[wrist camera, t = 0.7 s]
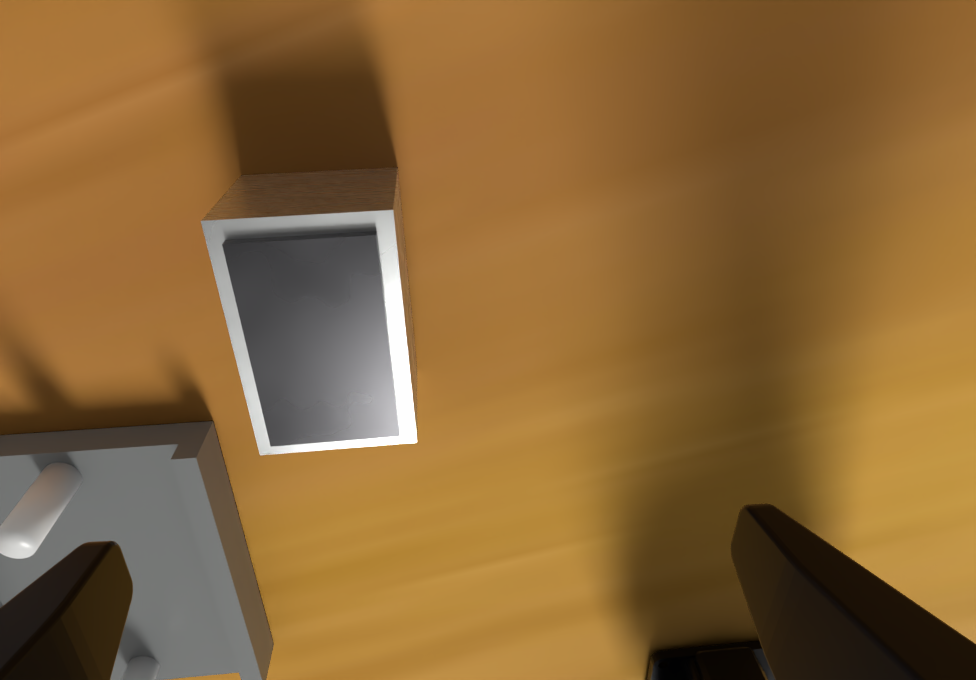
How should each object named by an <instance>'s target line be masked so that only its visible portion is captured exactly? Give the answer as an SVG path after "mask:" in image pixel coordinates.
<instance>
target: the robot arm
mask: <svg viewBox="0 0 976 680" xmlns="http://www.w3.org/2000/svg"><path fill="white" fill-rule="evenodd" d="M731 556H732V560H733V563H734V566H735V569H736V572H737V575H738V578H739V581H740V584H741V587H742V590H743V593H744V596H745V599H746V602H747V605H748V608H749V611H750V614H751V617H752V620H753V623H754V626H755V629H756V632H757V635H758V638H759V641H756V642H745V643H735V644H725V645H715V646H704V647H694V648H684V649H673V650H663V651H658V652H656V653H654V654H653V655H652V656H651V659H650V665H649V671H648V677H647V680H976V644H975V643H973V642H972V641H970V640H969V639H968V638H966V637H965V636H963V635H962V634H960V633H959V632H957V631H956V630H954V629H953V628H952V627H950V626H949V625H947V624H946V623H944V622H943V621H941V620H940V619H938V618H937V617H935V616H934V615H933V614H931V613H930V612H928V611H927V610H925V609H924V608H922V607H921V606H919V605H918V604H916V603H915V602H914V601H912V600H911V599H909V598H908V597H906V596H905V595H903V594H902V593H900V592H899V591H898V590H896V589H895V588H893V587H892V586H890V585H889V584H887V583H886V582H884V581H883V580H881V579H880V578H879V577H877V576H876V575H874V574H873V573H871V572H870V571H868V570H867V569H865V568H864V567H863V566H861V565H860V564H858V563H857V562H855V561H854V560H852V559H851V558H849V557H848V556H846V555H845V554H844V553H842V552H841V551H839V550H838V549H836V548H835V547H833V546H832V545H830V544H829V543H827V542H826V541H825V540H823V539H822V538H820V537H819V536H817V535H816V534H814V533H813V532H811V531H810V530H809V529H807V528H806V527H804V526H803V525H801V524H800V523H798V522H797V521H795V520H794V519H792V518H791V517H790V516H788V515H787V514H785V513H784V512H782V511H781V510H779V509H778V508H776V507H775V506H773V505H771V504H751V505H745V506H743V507H742V509H741V510H740V513H739V516H738V520H737V524H736V527H735V531H734V535H733V538H732V542H731ZM132 596H133V582H132V578H131V576H130V573H129V570H128V567H127V564H126V562H125V559H124V556H123V553H122V550H121V548H120V546H119V545H118V544H117V543H116V542H114V541H98V542H87V543H84V544H82V545H80V546H78V547H77V548H76V549H74V550H73V551H72V552H71V553H69V554H68V555H67V556H66V557H64V558H63V559H62V560H60V561H59V562H58V563H57V564H55V565H54V566H53V567H52V568H50V569H49V570H48V571H46V572H45V573H44V574H43V575H41V576H40V577H39V578H38V579H36V580H35V581H34V582H32V583H31V584H30V585H29V586H27V587H26V588H25V589H24V590H22V591H21V592H20V593H18V594H17V595H16V596H15V597H13V598H12V599H11V600H10V601H8V602H7V603H6V604H4V605H3V606H2V607H1V608H0V680H110V678H111V675H112V671H113V667H114V664H115V660H116V656H117V652H118V649H119V645H120V641H121V638H122V634H123V630H124V627H125V623H126V619H127V615H128V612H129V608H130V604H131V601H132Z"/></svg>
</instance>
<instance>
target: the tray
mask: <svg viewBox="0 0 976 680" xmlns="http://www.w3.org/2000/svg"><path fill="white" fill-rule="evenodd" d="M98 541H114V542H116V543H117V544H118V545H119V546H120V548H121V550H122V553H123V556H124V559H125V562H126V564H127V567H128V570H129V573H130V576H131V578H132V582H133V596H132V601H131V604H130V608H129V612H128V615H127V619H126V623H125V627H124V630H123V634H122V638H121V641H120V645H119V649H118V652H117V656H116V660H115V664H114V667H113V671H112V675H111V678H110V680H164V679H174V678H185V677H196V676H206V675H217V674H227V673H238V672H239V674H240V677H241V680H266V678H267V673H268V668H269V664H270V659H271V654H272V650H273V645H274V644H273V640H272V636H271V633H270V629H269V625H268V622H267V618H266V614H265V610H264V607H263V603H262V599H261V596H260V592H259V588H258V585H257V581H256V577H255V574H254V570H253V566H252V563H251V559H250V555H249V552H248V548H247V544H246V540H245V537H244V533H243V529H242V526H241V522H240V518H239V515H238V511H237V507H236V504H235V500H234V496H233V493H232V489H231V485H230V482H229V478H228V474H227V470H226V467H225V463H224V459H223V456H222V452H221V448H220V445H219V441H218V437H217V434H216V430H215V426H214V423H213V421H206V422H191V423H176V424H162V425H147V426H132V427H117V428H102V429H87V430H72V431H58V432H43V433H28V434H13V435H0V608H1V607H2V606H3V605H4V604H6V603H7V602H8V601H10V600H11V599H12V598H13V597H15V596H16V595H17V594H18V593H20V592H21V591H22V590H24V589H25V588H26V587H27V586H29V585H30V584H31V583H32V582H34V581H35V580H36V579H38V578H39V577H40V576H41V575H43V574H44V573H45V572H46V571H48V570H49V569H50V568H52V567H53V566H54V565H55V564H57V563H58V562H59V561H60V560H62V559H63V558H64V557H66V556H67V555H68V554H69V553H71V552H72V551H73V550H74V549H76V548H77V547H78V546H80V545H82V544H84V543H87V542H98Z"/></svg>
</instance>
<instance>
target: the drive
mask: <svg viewBox="0 0 976 680" xmlns="http://www.w3.org/2000/svg"><path fill="white" fill-rule="evenodd" d="M201 223H202V227H203V231H204V235H205V239H206V243H207V247H208V251H209V255H210V259H211V263H212V267H213V271H214V275H215V279H216V283H217V287H218V291H219V295H220V299H221V303H222V307H223V311H224V315H225V318H226V322H227V326H228V330H229V334H230V338H231V342H232V346H233V350H234V354H235V358H236V362H237V366H238V370H239V374H240V378H241V382H242V386H243V390H244V394H245V398H246V402H247V406H248V410H249V414H250V418H251V421H252V425H253V429H254V433H255V437H256V441H257V445H258V449H259V453H260V455H270V454H282V453H294V452H306V451H319V450H331V449H343V448H356V447H368V446H380V445H392V444H405V443H417V363H416V353H415V342H414V332H413V321H412V311H411V300H410V290H409V280H408V269H407V259H406V248H405V238H404V228H403V217H402V207H401V196H400V186H399V175H398V167H390V168H371V169H352V170H333V171H314V172H295V173H276V174H257V175H241V176H240V177H239V178H238V180H237V181H236V182H235V183H234V184H233V185H232V186H231V188H230V189H229V190H228V191H227V192H226V193H225V194H224V195H223V197H222V198H221V199H220V200H219V201H218V202H217V203H216V204H215V206H214V207H213V208H212V209H211V210H210V211H209V212H208V213H207V215H206V216H205V217H204V218H203V219H202V220H201Z"/></svg>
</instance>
